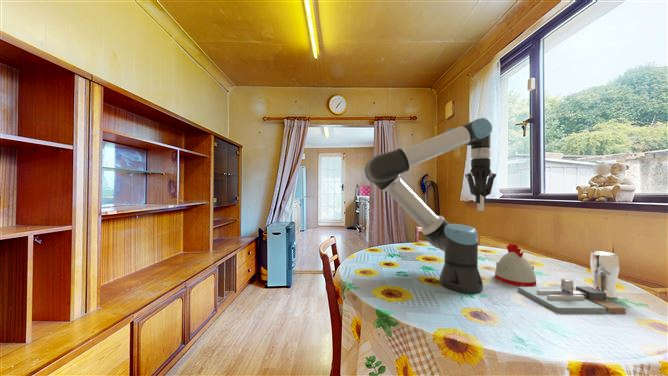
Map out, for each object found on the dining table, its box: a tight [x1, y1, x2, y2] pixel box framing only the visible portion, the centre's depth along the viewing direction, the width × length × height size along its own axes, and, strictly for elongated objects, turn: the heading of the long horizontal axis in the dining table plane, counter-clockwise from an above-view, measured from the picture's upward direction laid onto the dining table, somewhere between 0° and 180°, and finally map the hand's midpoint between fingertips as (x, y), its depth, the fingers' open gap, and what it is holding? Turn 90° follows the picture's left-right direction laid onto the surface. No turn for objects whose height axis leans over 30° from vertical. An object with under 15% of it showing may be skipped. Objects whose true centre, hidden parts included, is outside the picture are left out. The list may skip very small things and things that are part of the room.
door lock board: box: [517, 285, 626, 314], centre depth 83 cm, size 21×16×4 cm
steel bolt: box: [559, 278, 589, 297], centre depth 83 cm, size 10×3×5 cm, turn 90°
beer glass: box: [589, 250, 620, 299], centre depth 88 cm, size 7×7×15 cm
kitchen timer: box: [494, 243, 537, 287], centre depth 102 cm, size 14×14×15 cm
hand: (480, 210), depth 110 cm, fingers closed
